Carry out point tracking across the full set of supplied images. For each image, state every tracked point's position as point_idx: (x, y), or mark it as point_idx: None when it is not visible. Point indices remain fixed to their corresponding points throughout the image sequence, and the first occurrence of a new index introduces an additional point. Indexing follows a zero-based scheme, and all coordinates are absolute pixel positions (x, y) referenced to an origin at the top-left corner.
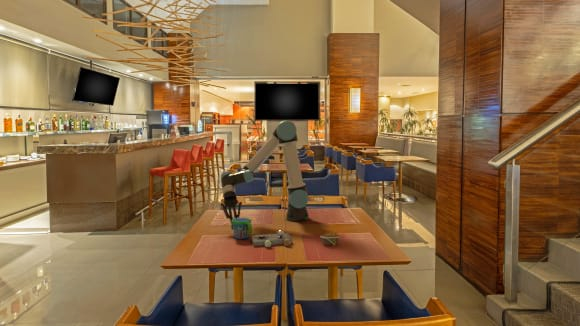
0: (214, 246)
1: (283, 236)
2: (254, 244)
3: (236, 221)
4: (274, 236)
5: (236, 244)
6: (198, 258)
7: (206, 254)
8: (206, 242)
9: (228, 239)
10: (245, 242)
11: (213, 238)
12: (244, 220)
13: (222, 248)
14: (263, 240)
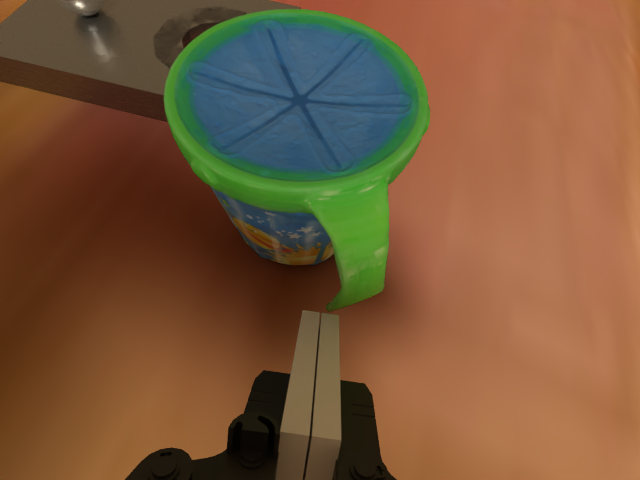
0: (522, 128)
1: None
2: None
3: (367, 93)
4: (120, 29)
5: None
6: (591, 16)
7: (559, 40)
8: (586, 234)
9: (409, 232)
10: None
11: (535, 326)
12: (249, 105)
13: (475, 79)
14: (235, 1)
